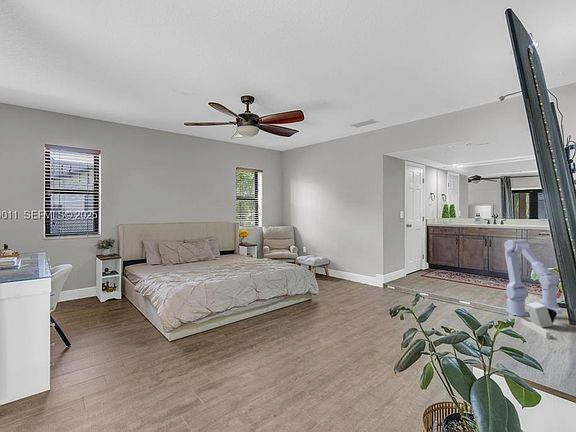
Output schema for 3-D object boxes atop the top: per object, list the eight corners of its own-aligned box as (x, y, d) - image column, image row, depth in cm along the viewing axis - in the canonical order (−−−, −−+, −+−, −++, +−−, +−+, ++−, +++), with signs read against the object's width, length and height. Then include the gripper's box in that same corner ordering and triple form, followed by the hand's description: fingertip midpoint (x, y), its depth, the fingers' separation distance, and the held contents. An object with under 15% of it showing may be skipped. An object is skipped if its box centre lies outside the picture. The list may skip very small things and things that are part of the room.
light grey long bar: (520, 322, 165) (519, 316, 165) (523, 322, 165) (522, 316, 165) (546, 338, 144) (546, 331, 144) (550, 338, 144) (549, 331, 144)
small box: (553, 325, 156) (546, 305, 156) (541, 328, 157) (535, 308, 157) (543, 320, 163) (536, 301, 164) (531, 322, 164) (525, 303, 165)
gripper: (568, 301, 151) (569, 328, 152) (548, 293, 166) (548, 318, 166) (552, 301, 153) (553, 327, 153) (534, 293, 167) (534, 317, 167)
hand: (550, 322), depth 159 cm, fingers closed, pressing on small box
